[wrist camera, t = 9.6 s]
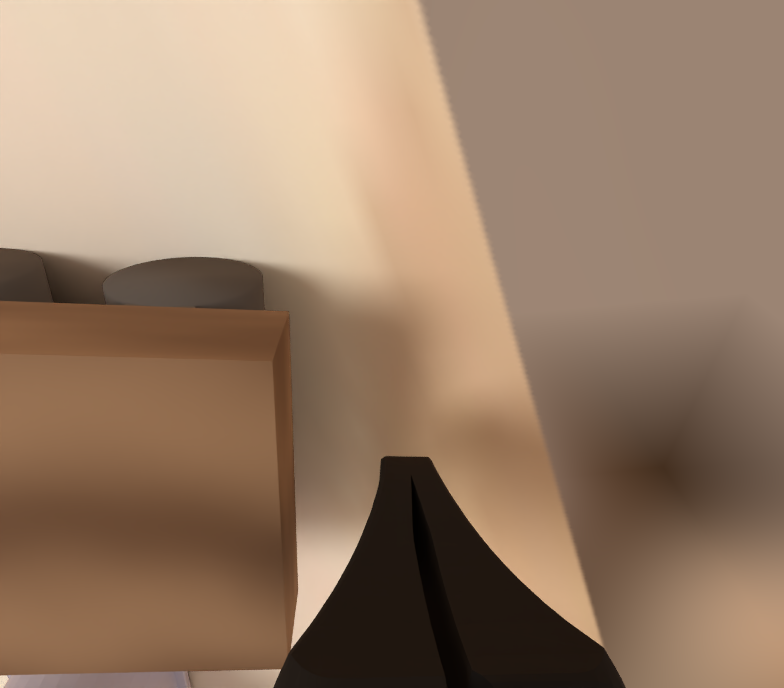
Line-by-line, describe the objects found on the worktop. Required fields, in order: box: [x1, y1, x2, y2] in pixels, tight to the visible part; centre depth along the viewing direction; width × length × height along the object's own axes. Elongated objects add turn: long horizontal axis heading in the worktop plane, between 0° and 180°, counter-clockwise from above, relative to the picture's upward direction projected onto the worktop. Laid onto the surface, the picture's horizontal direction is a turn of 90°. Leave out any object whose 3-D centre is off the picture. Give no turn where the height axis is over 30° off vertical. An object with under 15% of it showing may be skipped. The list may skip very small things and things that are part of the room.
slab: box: [0, 301, 298, 675], centre depth 12 cm, size 10×14×2 cm
